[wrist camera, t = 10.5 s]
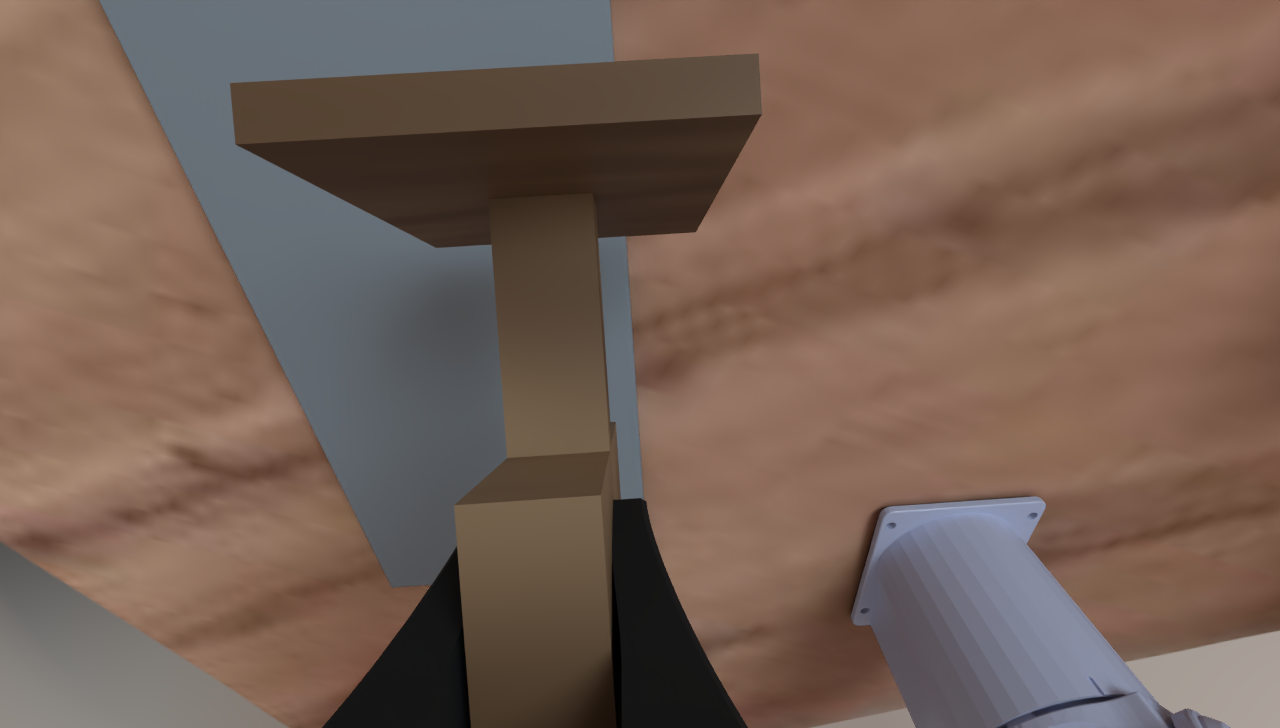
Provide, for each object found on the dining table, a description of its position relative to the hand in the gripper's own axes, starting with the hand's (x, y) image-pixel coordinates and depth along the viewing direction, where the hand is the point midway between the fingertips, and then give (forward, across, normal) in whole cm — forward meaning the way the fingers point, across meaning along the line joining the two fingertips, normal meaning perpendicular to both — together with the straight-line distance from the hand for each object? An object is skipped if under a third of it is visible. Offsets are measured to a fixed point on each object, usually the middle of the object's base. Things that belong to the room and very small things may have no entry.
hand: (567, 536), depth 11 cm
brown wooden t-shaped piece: (+4, 0, 0) cm, 4 cm away
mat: (+10, +5, +1) cm, 11 cm away
